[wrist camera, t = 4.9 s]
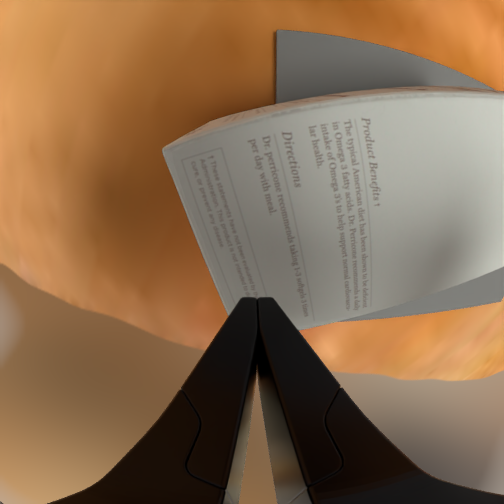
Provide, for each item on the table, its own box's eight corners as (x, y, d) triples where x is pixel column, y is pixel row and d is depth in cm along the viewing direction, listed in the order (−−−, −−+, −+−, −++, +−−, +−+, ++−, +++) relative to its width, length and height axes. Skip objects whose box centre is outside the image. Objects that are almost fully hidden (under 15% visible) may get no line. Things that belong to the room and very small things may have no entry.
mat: (547, 125, 11) (551, 127, 10) (498, 297, 20) (500, 301, 20) (276, 32, 11) (277, 29, 10) (267, 318, 20) (268, 324, 19)
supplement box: (242, 247, 16) (440, 204, 15) (236, 348, 10) (516, 268, 8) (203, 120, 13) (430, 85, 11) (152, 139, 6) (529, 96, 5)
